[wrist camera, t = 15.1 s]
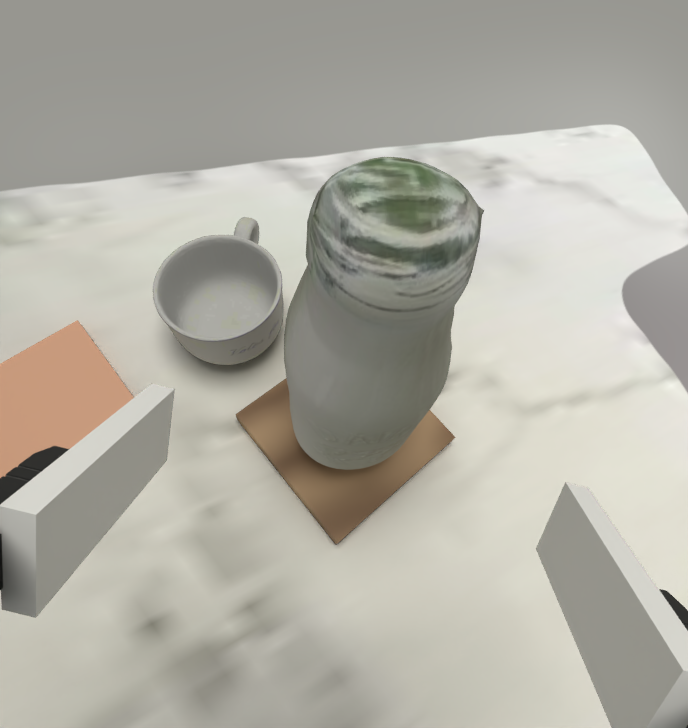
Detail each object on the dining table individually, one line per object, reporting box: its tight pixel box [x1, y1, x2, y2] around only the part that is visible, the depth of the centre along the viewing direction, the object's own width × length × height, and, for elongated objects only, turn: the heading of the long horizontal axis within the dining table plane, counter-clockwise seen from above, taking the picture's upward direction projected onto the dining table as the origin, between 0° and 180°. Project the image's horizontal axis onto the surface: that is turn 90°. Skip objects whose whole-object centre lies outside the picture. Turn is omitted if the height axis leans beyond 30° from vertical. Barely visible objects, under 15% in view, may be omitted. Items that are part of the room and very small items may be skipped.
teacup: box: [153, 217, 283, 365], centre depth 45 cm, size 14×11×8 cm
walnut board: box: [236, 378, 455, 544], centre depth 44 cm, size 14×14×2 cm
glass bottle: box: [284, 157, 484, 470], centre depth 31 cm, size 10×10×28 cm
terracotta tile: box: [0, 320, 134, 478], centre depth 42 cm, size 12×12×1 cm
